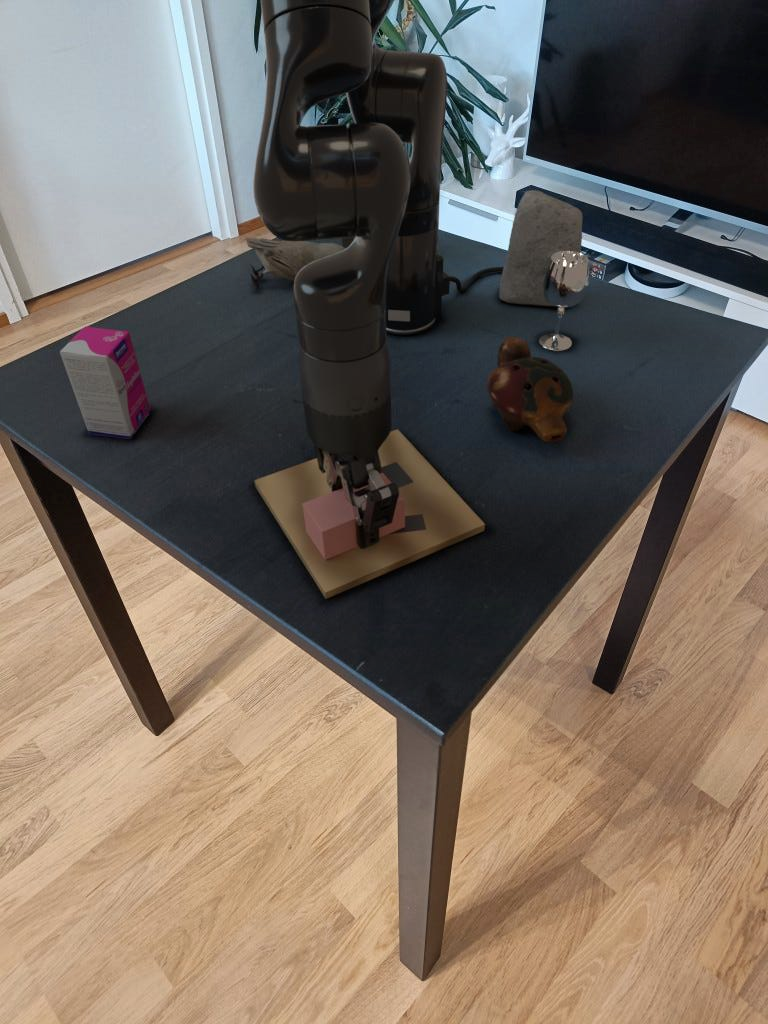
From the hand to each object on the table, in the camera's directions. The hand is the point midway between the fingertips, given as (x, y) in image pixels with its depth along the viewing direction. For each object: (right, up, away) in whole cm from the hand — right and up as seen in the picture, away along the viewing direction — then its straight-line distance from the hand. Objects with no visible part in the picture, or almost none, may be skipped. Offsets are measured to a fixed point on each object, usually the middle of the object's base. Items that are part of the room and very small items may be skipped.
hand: (356, 527), depth 72 cm
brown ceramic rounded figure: (+20, +13, +14) cm, 28 cm away
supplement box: (-29, +12, +15) cm, 35 cm away
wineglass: (+26, +25, +27) cm, 45 cm away
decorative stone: (+26, +33, +35) cm, 55 cm away
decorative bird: (-10, +38, +40) cm, 56 cm away
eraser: (0, 0, 0) cm, 0 cm away
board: (+1, +2, +4) cm, 4 cm away
